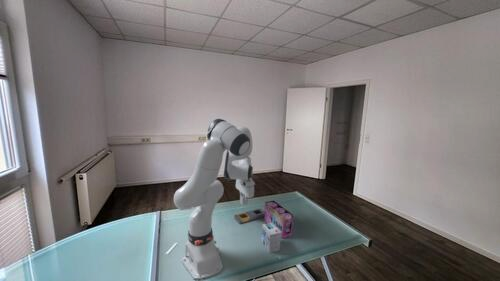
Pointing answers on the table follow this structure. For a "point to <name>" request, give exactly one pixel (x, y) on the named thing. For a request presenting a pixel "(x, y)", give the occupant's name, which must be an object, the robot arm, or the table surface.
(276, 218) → the pink product box
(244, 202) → the nut
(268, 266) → the table surface
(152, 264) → the table surface
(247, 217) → the rail
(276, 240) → the light bulb box
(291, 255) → the table surface
